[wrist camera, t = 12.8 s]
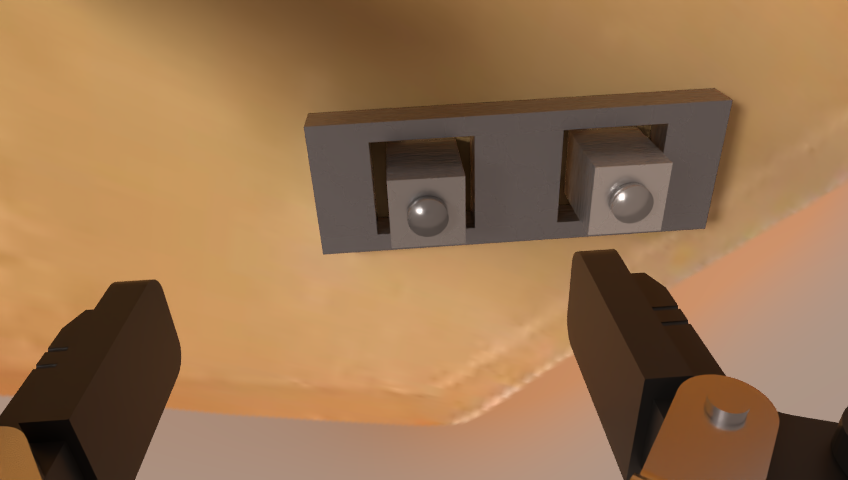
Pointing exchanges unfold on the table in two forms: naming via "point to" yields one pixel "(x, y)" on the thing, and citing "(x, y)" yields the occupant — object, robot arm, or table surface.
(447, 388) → the table surface
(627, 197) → the cube with silver knob
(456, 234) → the knobbed grey cube
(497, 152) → the grey slotted board
